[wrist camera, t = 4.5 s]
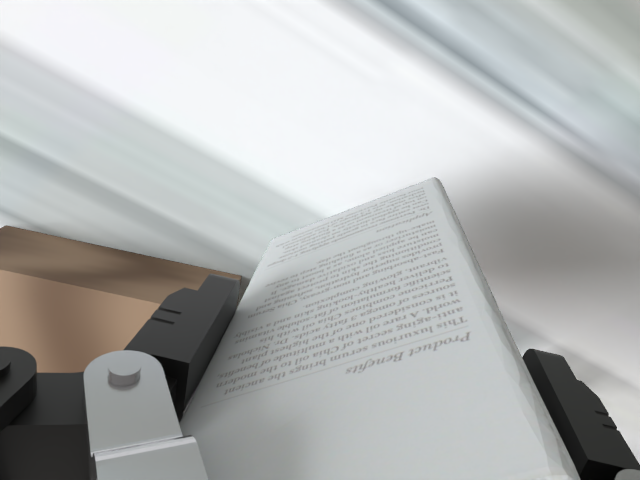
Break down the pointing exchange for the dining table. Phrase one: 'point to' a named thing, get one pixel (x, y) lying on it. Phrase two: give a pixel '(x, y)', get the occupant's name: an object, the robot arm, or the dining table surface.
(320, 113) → the dining table surface
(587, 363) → the dining table surface
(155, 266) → the walnut block
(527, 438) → the skincare box
